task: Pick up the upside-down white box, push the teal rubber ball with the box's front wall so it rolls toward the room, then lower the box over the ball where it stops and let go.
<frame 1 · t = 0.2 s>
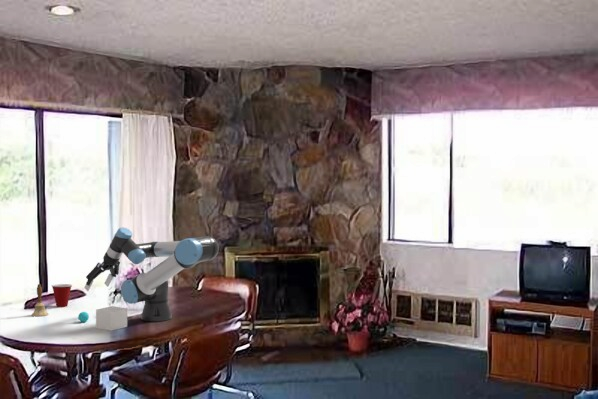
hand: (96, 287, 357), 15 cm above the table, tool tilted 35°, fingers open, 13 cm apart
hand bell: (40, 315, 360), on the table
ball: (83, 316, 345), on the table
plastic cup: (62, 306, 382), on the table
white box: (111, 327, 334), on the table
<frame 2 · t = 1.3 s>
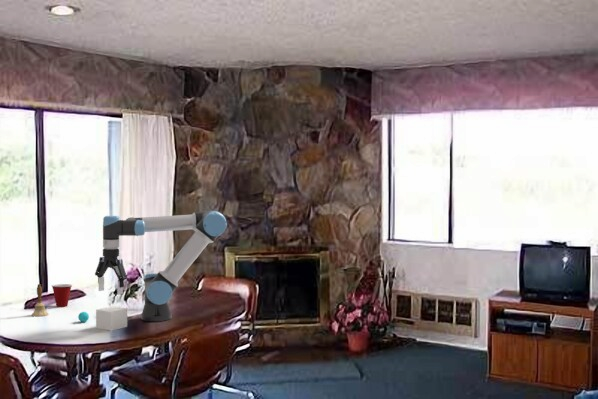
hand: (110, 292, 334), 17 cm above the table, tool pointing down, fingers open, 13 cm apart
nothing on the table moved.
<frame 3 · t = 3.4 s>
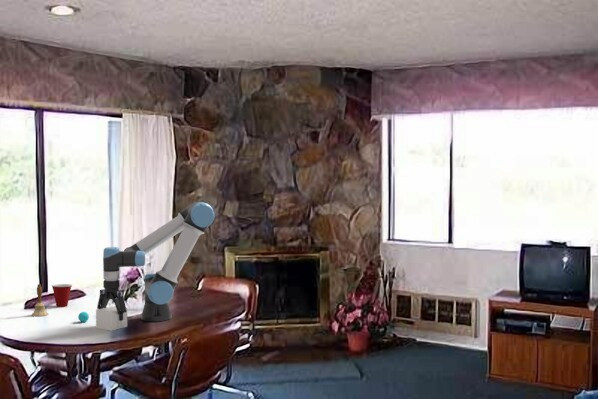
hand: (111, 325, 334), 1 cm above the table, tool pointing down, fingers closed on white box, 10 cm apart
white box: (111, 327, 334), on the table, touching gripper
everything else where it was.
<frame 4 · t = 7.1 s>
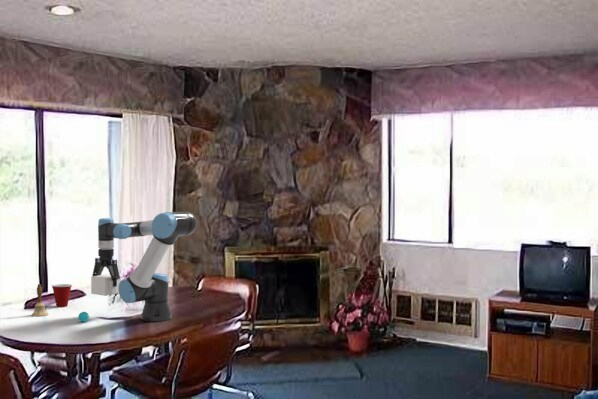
hand: (106, 291, 357), 13 cm above the table, tool pointing down, fingers closed on white box, 10 cm apart
white box: (105, 293, 357), point 12 cm above the table, touching gripper
everything else where it was.
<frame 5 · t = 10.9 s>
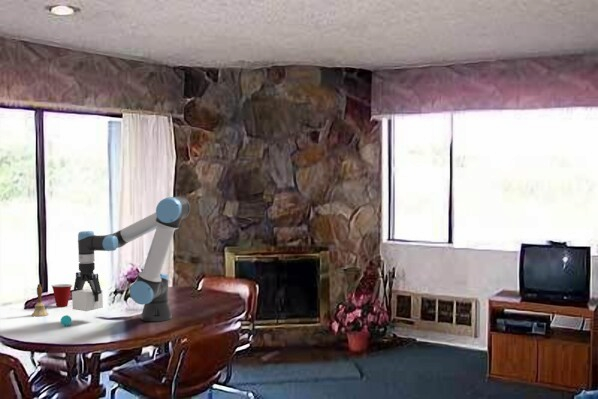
hand: (87, 306, 346), 7 cm above the table, tool pointing down, fingers closed on white box, 10 cm apart
ball: (66, 320, 336), on the table
white box: (87, 308, 346), point 6 cm above the table, touching gripper
everything else where it was.
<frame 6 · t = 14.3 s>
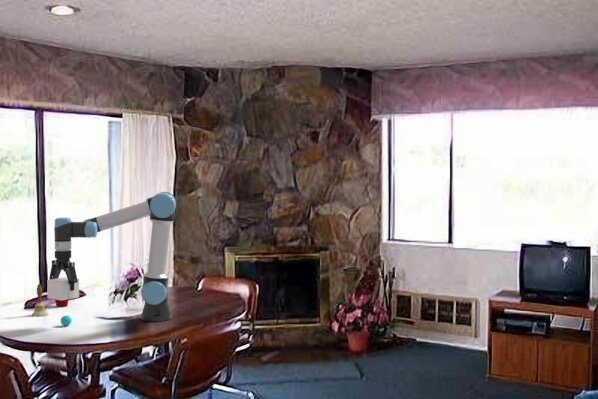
hand: (63, 296, 334), 15 cm above the table, tool pointing down, fingers closed on white box, 10 cm apart
white box: (63, 297, 334), point 14 cm above the table, touching gripper
everything else where it was.
when the fingers open (1 cm above the table, at t = 17.4 s): white box stays where it is, on the table.
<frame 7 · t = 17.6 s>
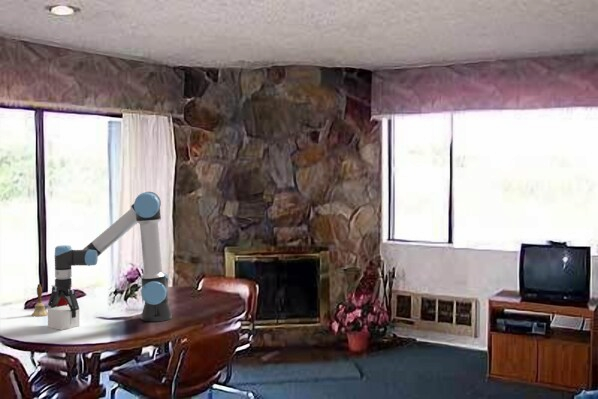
hand: (63, 322, 335), 2 cm above the table, tool pointing down, fingers open, 12 cm apart
white box: (63, 326, 335), on the table
everything else where it was.
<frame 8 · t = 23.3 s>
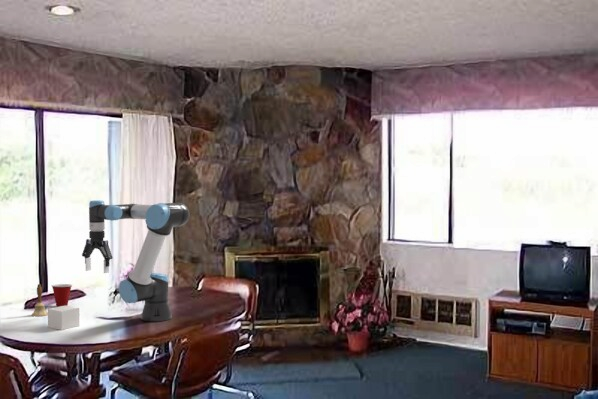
hand: (97, 271, 359), 23 cm above the table, tool pointing down, fingers open, 13 cm apart
nothing on the table moved.
at the end: ball 1.8 cm from the white box (horizontally); white box on the table; ball moved 10.3 cm from its start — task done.
